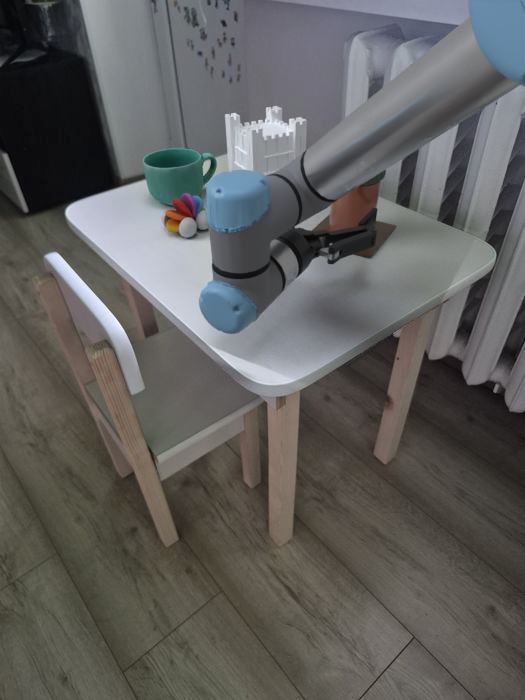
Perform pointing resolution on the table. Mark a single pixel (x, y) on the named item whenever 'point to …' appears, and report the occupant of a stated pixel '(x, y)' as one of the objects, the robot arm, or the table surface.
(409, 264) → the table surface
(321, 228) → the coaster
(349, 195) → the jar
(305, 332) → the table surface
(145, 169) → the mug
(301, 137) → the castle model
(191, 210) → the rainbow fan wheeled toy
